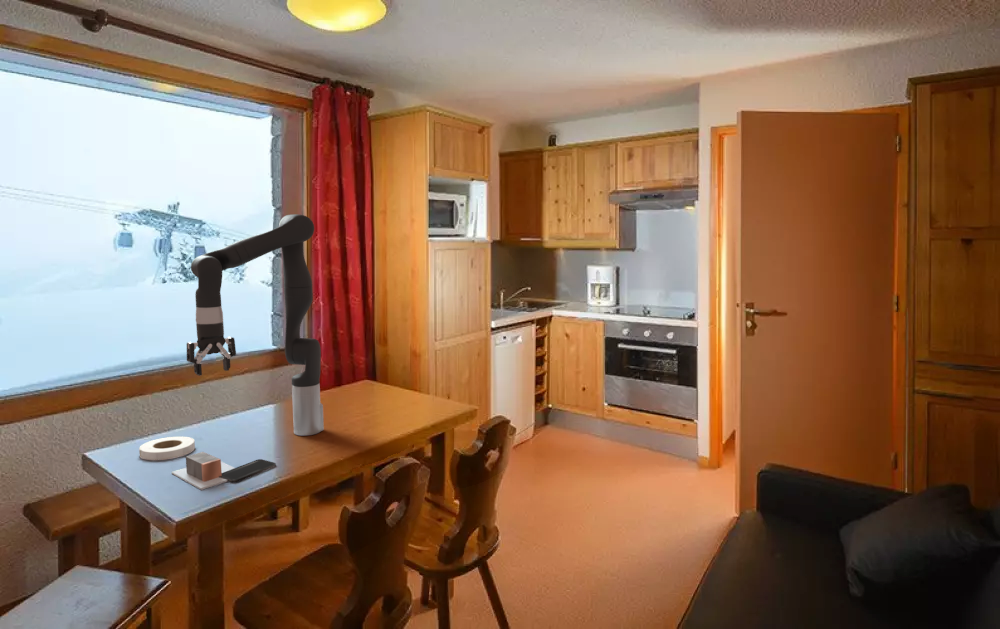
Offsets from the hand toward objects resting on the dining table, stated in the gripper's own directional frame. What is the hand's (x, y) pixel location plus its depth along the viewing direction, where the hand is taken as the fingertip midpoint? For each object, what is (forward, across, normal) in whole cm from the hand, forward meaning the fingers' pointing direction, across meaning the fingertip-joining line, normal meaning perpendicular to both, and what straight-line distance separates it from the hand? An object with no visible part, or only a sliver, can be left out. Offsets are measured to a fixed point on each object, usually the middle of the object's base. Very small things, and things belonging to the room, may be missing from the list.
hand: (213, 372), depth 187 cm
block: (+23, -12, -10) cm, 28 cm away
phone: (+26, -2, -22) cm, 34 cm away
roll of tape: (+27, -9, +14) cm, 31 cm away
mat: (+26, -10, -15) cm, 32 cm away
